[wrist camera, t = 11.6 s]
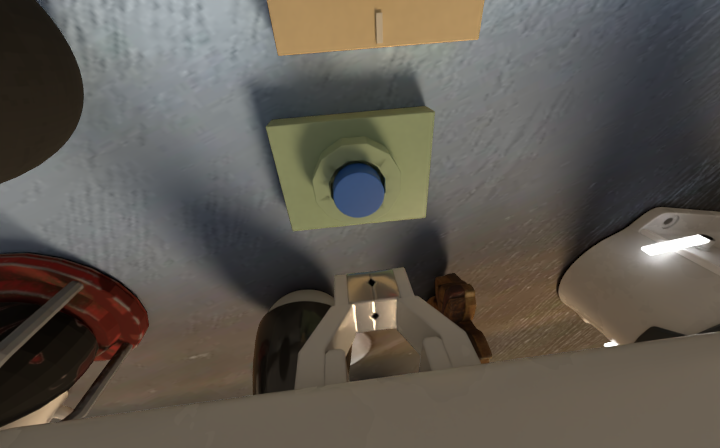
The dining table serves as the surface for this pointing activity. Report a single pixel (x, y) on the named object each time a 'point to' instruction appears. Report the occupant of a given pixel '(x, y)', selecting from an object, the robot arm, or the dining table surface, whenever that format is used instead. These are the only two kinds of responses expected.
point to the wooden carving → (460, 310)
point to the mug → (44, 413)
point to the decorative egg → (34, 88)
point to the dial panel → (370, 23)
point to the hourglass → (60, 331)
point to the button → (358, 190)
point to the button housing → (348, 146)
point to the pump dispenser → (287, 339)
